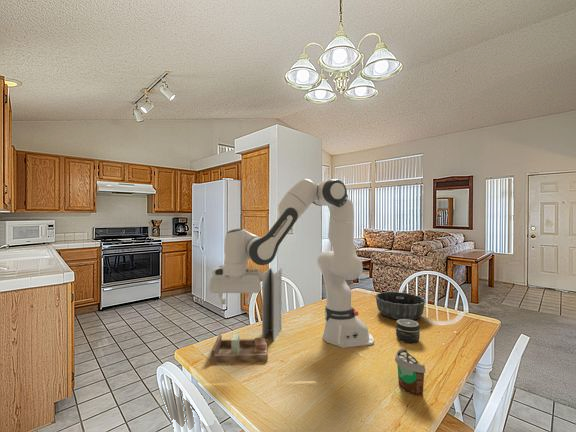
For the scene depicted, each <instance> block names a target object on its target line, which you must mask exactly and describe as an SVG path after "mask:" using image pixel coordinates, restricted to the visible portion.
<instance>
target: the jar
mask: <svg viewBox="0 0 576 432" xmlns="http://www.w3.org/2000/svg"><path fill="white" fill-rule="evenodd" d="M420 325H421V324H420V322H418V321H416V320H413V319H412V320H409V319H400V318H399V319H396V322H395V337H396V338H397V340H398V341H399V342H401V341H402V343H405V344H410V345H411V344H412V345H413V343H414V344H418V342H419V340H420V338H421V337H420V336H421V333H420V332H421V327H420Z"/></svg>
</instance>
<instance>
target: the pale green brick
mask: <svg viewBox="0 0 576 432" xmlns="http://www.w3.org/2000/svg"><path fill="white" fill-rule="evenodd" d="M239 339H240V333H233V334H232V338H231V339H230V340H231V354H238V353H239Z"/></svg>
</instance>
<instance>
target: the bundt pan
mask: <svg viewBox="0 0 576 432" xmlns="http://www.w3.org/2000/svg"><path fill="white" fill-rule="evenodd" d="M374 297H375V299H376V301H375V302H376V307H377V310H378V311H379V312H380V313H381V314H382V315H384V316H386V317H387V318H389V319H390V318H392V319H395V320H399V319H409V320H413V321H416V320H417V319H419V318H420V317H422V316H423V314H424V309H425V305H426V302H427V300H426V298H424V297H422V296H420V295H416V294H413V293H408V292H403V291H402V292H400V291H384V292H381V291H380V293H376V294H375V296H374Z"/></svg>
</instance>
